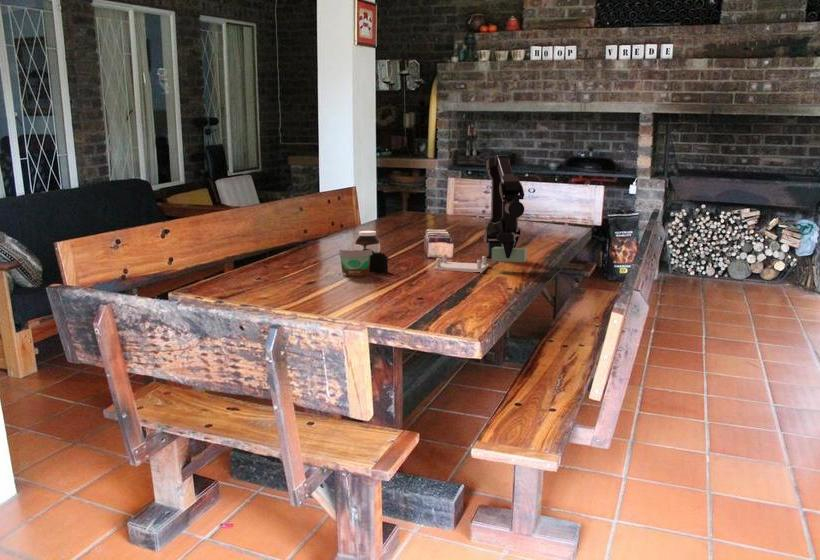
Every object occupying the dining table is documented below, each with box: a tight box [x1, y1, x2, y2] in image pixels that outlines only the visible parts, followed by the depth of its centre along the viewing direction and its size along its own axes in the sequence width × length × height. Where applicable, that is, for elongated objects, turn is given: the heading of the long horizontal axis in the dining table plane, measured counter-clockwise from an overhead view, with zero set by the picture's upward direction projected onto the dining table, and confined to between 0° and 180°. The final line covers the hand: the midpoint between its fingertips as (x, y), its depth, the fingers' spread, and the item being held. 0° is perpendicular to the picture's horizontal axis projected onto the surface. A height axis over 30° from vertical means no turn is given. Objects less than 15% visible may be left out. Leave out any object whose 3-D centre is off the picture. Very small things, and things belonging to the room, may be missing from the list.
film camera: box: [363, 249, 389, 274], centre depth 272 cm, size 15×10×9 cm, turn 74°
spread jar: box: [349, 230, 381, 252], centre depth 296 cm, size 12×11×12 cm
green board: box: [491, 246, 528, 263], centre depth 269 cm, size 5×12×4 cm, turn 72°
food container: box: [337, 248, 372, 279], centre depth 261 cm, size 12×6×10 cm, turn 101°
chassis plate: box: [433, 254, 489, 274], centre depth 276 cm, size 12×18×4 cm, turn 72°
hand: (509, 257), depth 270 cm, fingers closed on green board, 5 cm apart
